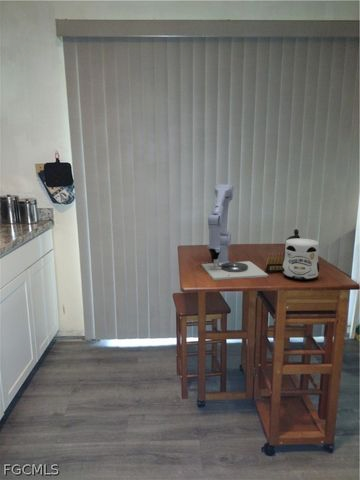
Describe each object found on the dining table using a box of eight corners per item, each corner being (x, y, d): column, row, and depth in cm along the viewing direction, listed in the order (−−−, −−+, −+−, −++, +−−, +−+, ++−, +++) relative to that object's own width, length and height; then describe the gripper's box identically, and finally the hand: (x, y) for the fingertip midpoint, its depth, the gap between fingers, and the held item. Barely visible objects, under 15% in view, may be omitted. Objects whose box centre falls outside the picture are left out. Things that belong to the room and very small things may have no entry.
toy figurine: (303, 263, 215) (299, 249, 238) (305, 232, 210) (301, 221, 233) (286, 263, 217) (284, 249, 240) (288, 231, 211) (285, 220, 235)
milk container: (293, 283, 176) (295, 246, 172) (275, 273, 192) (277, 239, 189) (326, 280, 180) (328, 244, 176) (305, 270, 196) (307, 237, 193)
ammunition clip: (265, 272, 194) (268, 252, 188) (264, 270, 196) (267, 250, 190) (285, 271, 195) (289, 252, 189) (284, 269, 196) (288, 250, 190)
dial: (242, 264, 206) (243, 254, 205) (251, 271, 193) (252, 261, 191) (210, 265, 203) (210, 256, 202) (217, 273, 190) (217, 263, 188)
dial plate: (201, 265, 208) (201, 263, 207) (250, 262, 212) (250, 261, 212) (213, 280, 182) (213, 278, 182) (268, 276, 187) (268, 274, 187)
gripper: (204, 235, 203) (204, 259, 206) (210, 240, 189) (210, 266, 192) (216, 234, 204) (216, 258, 207) (224, 240, 190) (223, 265, 193)
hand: (214, 262), depth 199 cm, fingers closed
